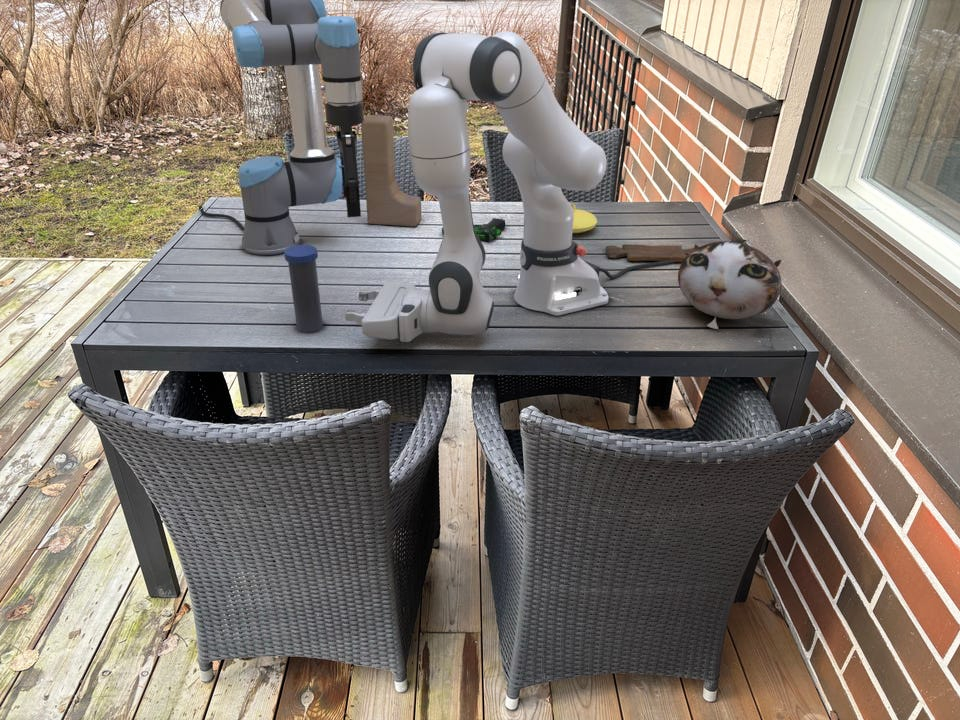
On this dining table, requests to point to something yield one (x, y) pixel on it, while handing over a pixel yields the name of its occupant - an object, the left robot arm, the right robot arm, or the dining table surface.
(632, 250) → the brown notched plank
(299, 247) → the lid
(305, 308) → the jar
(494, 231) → the handgun
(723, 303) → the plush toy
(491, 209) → the dining table surface
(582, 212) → the yellow thick rounded disc
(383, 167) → the decorative block
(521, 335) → the dining table surface
